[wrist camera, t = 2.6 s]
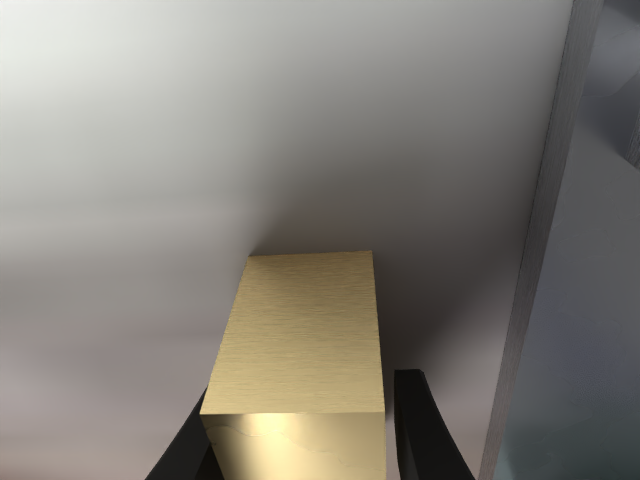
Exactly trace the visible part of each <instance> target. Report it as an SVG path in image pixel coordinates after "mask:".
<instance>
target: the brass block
mask: <svg viewBox="0 0 640 480" xmlns="http://www.w3.org/2000/svg"><path fill="white" fill-rule="evenodd" d="M200 417H201V420H202V422H203V425H204V427H205V430H206V433H207V435H208V438H209V440H210V443H211V445H212V448H213V451H214V453H215V456H216V458H217V461H218V464H219V466H220V469H221V471H222V474H223V476H224V479H225V480H386V441H385V405H384V393H383V381H382V368H381V356H380V343H379V331H378V319H377V306H376V294H375V282H374V269H373V257H372V251H350V252H328V253H306V254H283V255H261V256H248V259H247V262H246V265H245V268H244V272H243V275H242V278H241V281H240V285H239V288H238V291H237V294H236V297H235V301H234V304H233V307H232V310H231V314H230V317H229V320H228V323H227V327H226V330H225V333H224V336H223V339H222V343H221V346H220V349H219V352H218V356H217V359H216V362H215V365H214V369H213V372H212V375H211V378H210V382H209V385H208V388H207V391H206V394H205V398H204V401H203V404H202V407H201V411H200Z"/></svg>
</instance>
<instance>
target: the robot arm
mask: <svg viewBox="0 0 640 480" xmlns="http://www.w3.org/2000/svg"><path fill="white" fill-rule="evenodd" d="M208 385H209V384H208ZM207 388H208V386H207ZM207 388H206V389H205V391H204V393H203V394H202V396H201V398H200V399H199V401H198V403H197V404H196V406H195V407H194V409H193V411H192V412H191V414H190V415H189V417H188V418H187V420H186V421H185V423H184V425H183V426H182V428H181V429H180V430H179V432H178V433H177V435H176V436H175V438H174V439H173V441H172V442H171V444H170V445H169V447H168V448H167V450H166V451H165V453H164V454H163V455H162V457H161V458H160V460H159V461H158V462H157V464H156V465H155V466H154V468H153V469H152V471H151V472H150V473H149V475H148V476H147V477H146V479H145V480H225V479H224V476H223V474H222V471H221V469H220V466H219V464H218V461H217V458H216V456H215V453H214V451H213V448H212V445H211V443H210V440H209V438H208V435H207V433H206V430H205V427H204V425H203V422H202V420H201V417H200V411H201V407H202V404H203V401H204V398H205V394H206V391H207ZM394 423H395V435H396V447H397V459H398V467H399V472H400V478H401V480H475V478H474V477H473V475H472V473H471V472H470V470H469V468H468V466H467V464H466V463H465V461H464V459H463V457H462V455H461V454H460V452H459V450H458V448H457V446H456V444H455V442H454V440H453V439H452V437H451V435H450V433H449V431H448V429H447V427H446V425H445V423H444V421H443V419H442V417H441V414H440V412H439V410H438V408H437V406H436V403H435V401H434V399H433V396H432V394H431V391H430V389H429V386H428V384H427V381H426V378H425V375H424V372H423V371H421V370H420V369H408V370H394Z"/></svg>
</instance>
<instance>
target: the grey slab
mask: <svg viewBox="0 0 640 480" xmlns="http://www.w3.org/2000/svg"><path fill="white" fill-rule="evenodd" d="M478 480H640V0H574V3H573V8H572V13H571V18H570V23H569V28H568V33H567V38H566V43H565V48H564V53H563V58H562V63H561V68H560V73H559V78H558V83H557V88H556V93H555V98H554V103H553V108H552V113H551V118H550V123H549V128H548V133H547V138H546V143H545V149H544V154H543V159H542V164H541V169H540V174H539V179H538V184H537V189H536V194H535V199H534V204H533V209H532V214H531V219H530V224H529V229H528V234H527V239H526V244H525V249H524V254H523V259H522V264H521V269H520V274H519V279H518V284H517V289H516V294H515V299H514V304H513V309H512V314H511V319H510V324H509V329H508V334H507V339H506V344H505V349H504V354H503V359H502V364H501V369H500V374H499V379H498V384H497V389H496V394H495V399H494V404H493V409H492V414H491V419H490V424H489V429H488V434H487V439H486V444H485V449H484V454H483V459H482V464H481V469H480V474H479V479H478Z"/></svg>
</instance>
